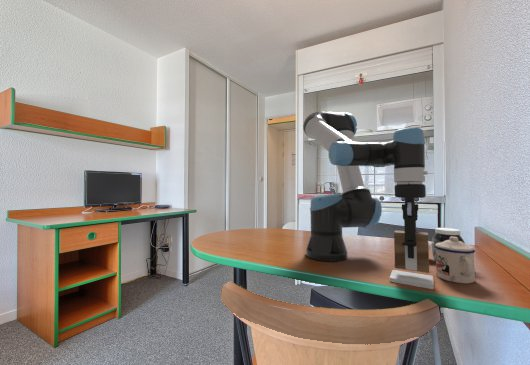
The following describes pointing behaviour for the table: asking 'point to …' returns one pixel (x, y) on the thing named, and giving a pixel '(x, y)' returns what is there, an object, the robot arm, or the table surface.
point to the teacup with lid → (455, 261)
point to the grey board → (412, 279)
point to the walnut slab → (421, 251)
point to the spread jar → (443, 237)
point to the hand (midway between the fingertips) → (411, 267)
